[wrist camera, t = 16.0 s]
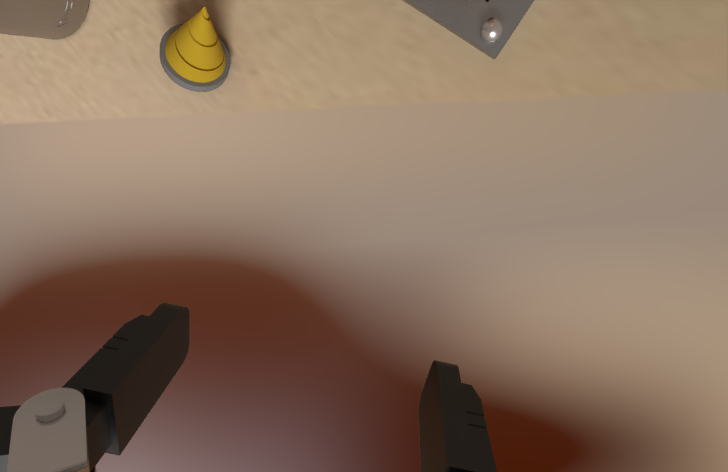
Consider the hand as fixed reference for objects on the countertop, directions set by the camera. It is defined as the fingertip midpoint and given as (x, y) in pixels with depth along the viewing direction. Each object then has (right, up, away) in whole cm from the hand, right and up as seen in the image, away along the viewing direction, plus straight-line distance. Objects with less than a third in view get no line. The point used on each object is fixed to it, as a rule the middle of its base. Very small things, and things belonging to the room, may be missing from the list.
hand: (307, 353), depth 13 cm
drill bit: (-11, +20, +22) cm, 32 cm away
